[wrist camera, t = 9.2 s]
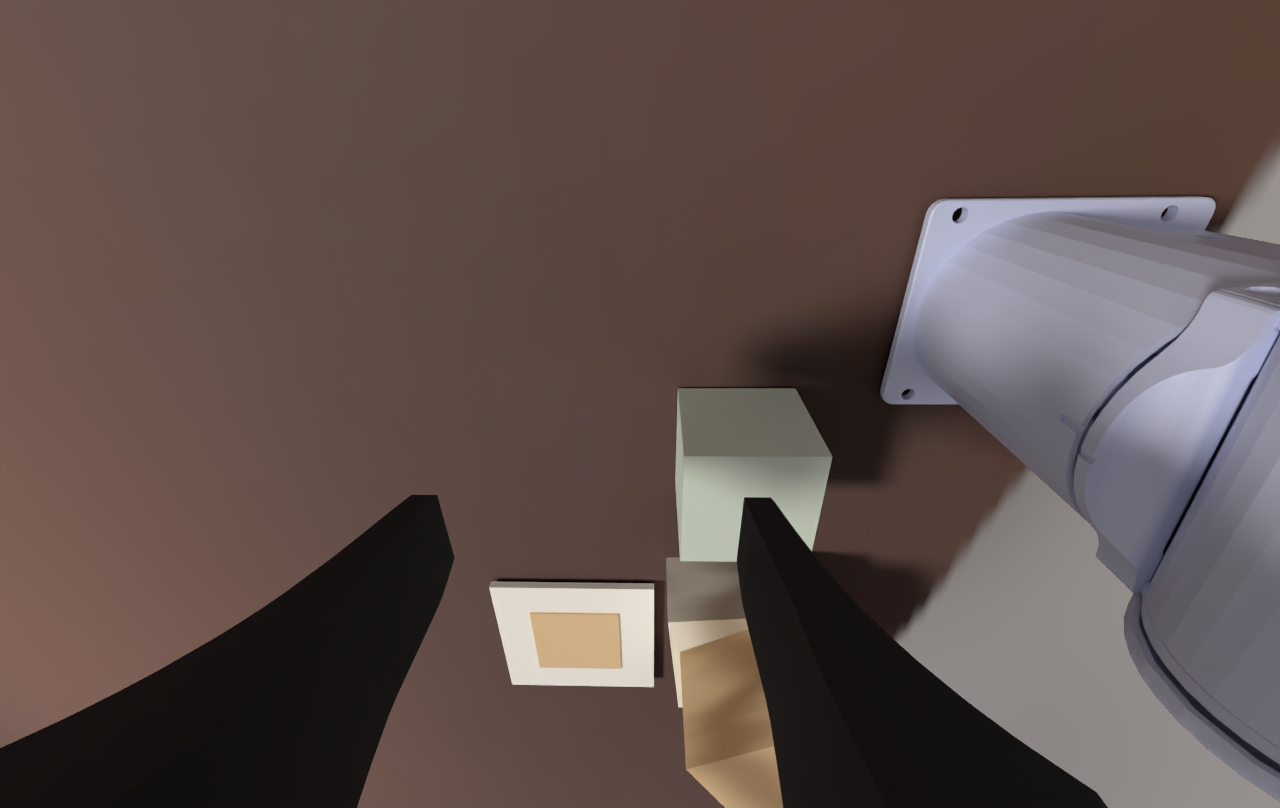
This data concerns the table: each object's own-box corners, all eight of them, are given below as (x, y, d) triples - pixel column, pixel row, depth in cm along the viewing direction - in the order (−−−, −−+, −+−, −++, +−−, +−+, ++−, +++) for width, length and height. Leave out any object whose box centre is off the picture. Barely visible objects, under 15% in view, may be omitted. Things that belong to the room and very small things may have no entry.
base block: (798, 549, 26) (821, 614, 22) (793, 634, 29) (811, 702, 26) (666, 556, 26) (667, 622, 23) (675, 639, 30) (678, 707, 26)
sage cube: (795, 388, 21) (832, 457, 17) (780, 481, 23) (809, 562, 19) (677, 388, 21) (684, 456, 17) (675, 480, 24) (680, 561, 19)
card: (654, 583, 27) (654, 590, 26) (653, 680, 31) (653, 688, 31) (491, 581, 27) (488, 589, 27) (513, 678, 32) (512, 686, 31)
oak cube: (775, 619, 23) (806, 737, 18) (814, 677, 25) (849, 795, 20) (679, 652, 24) (686, 769, 19) (723, 704, 26) (738, 820, 22)
